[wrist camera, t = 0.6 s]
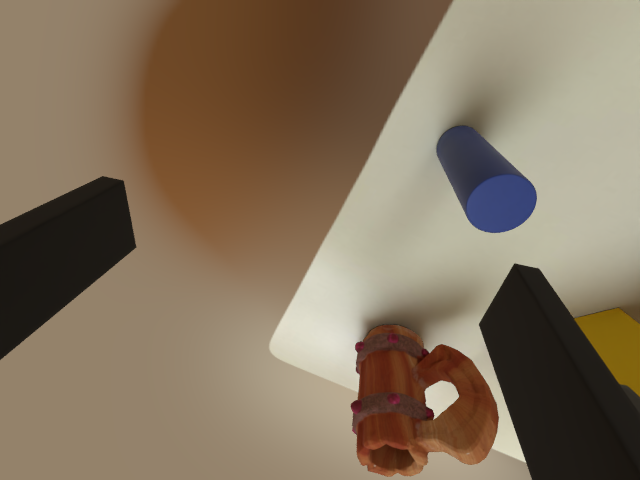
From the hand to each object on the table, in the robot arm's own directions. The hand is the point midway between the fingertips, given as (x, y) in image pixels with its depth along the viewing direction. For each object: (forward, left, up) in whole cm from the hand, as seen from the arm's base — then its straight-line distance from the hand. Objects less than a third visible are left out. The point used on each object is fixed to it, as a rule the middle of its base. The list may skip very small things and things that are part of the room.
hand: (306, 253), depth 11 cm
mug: (+23, +12, -21) cm, 33 cm away
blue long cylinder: (0, +9, -21) cm, 23 cm away
